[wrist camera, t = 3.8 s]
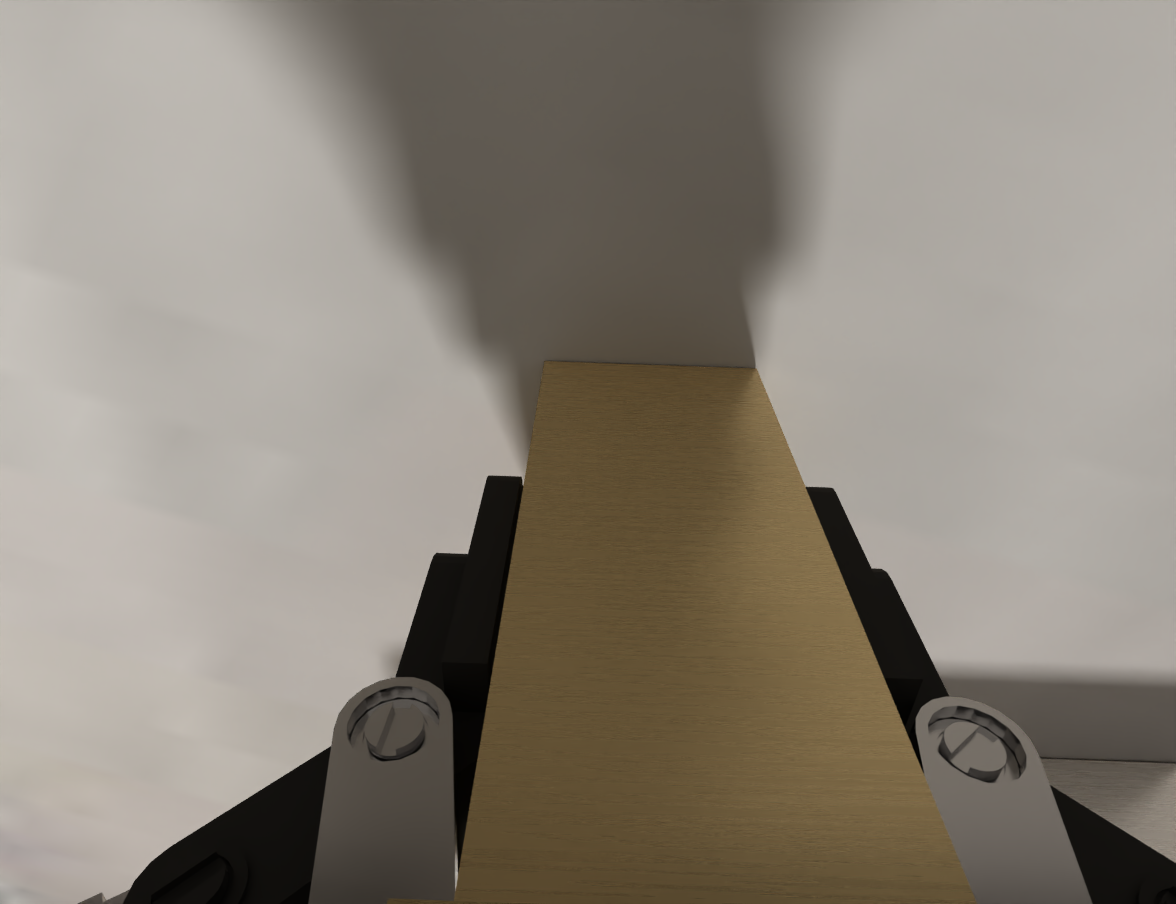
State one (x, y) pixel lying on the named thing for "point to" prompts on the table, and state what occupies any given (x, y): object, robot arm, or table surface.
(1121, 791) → the rail
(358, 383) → the table surface
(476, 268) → the table surface
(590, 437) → the brass square peg
